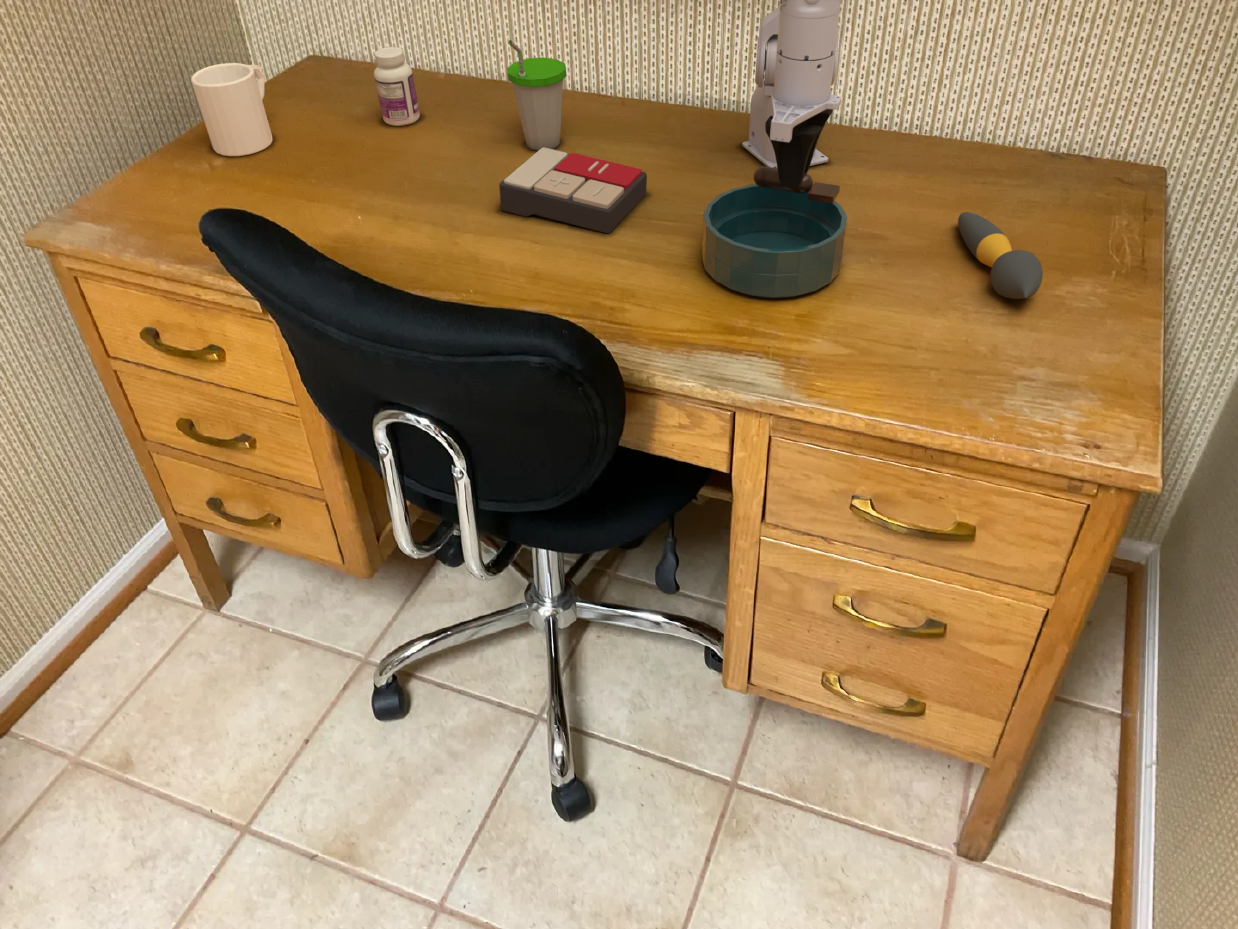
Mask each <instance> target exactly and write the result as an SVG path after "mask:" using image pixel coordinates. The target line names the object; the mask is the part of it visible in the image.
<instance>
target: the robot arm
mask: <svg viewBox="0 0 1238 929" xmlns="http://www.w3.org/2000/svg"><path fill="white" fill-rule="evenodd" d="M841 4H842V0H779V5H778V6H777V7H776V8H775V9H773V10H772V11H771V12H769V13H767V15H766V16H764V17H763V18H762V20H761V23H760V24H759V27H758V28H759V29H758V37H757V44H756V59H755V74H754V75H755V76H754V83H755V85H756V87H755V89H754V91H753V93H752V95H751V99H750V112H749V126H748V140H747V141H743V142H742V145H741V146H742V147H743V148H744V149H745V150H747V151H748V152H749V153H750V154H751V155H753V157H754V158H756V159H757V160H758V161H759V162H760V163H762V164H763V166H766V167H772V168H777V169H778V176H779V181H780V184H781V185H787V186H793V187H799V185H800V183H801V181H802V178H803V175H804V173H807V174H808V173H809V169H810V167H811V166H816V165H821V164H824V163H828V162H829V157H828V156H826V155H825V153H824V154H823V152H821V151H819V150H818V149H817V144H818V141H819V139H820V136H821V134H822V132H823V130H824V127H825V126H826V123H827V122H828V120H829V119H830V117H831V115H833V111H834V110H837V109H839V108H840V106H841V104H842V96H840V95H835V94H832V91H831V89H832V86H833V85H834V84H835V82H836V76H837V70H838V69H837V68H838V59H839V58H838V57H839V35H840V34H839V33H840V27H839V21H840V12H841Z"/></svg>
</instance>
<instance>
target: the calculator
mask: <svg viewBox="0 0 1238 929" xmlns="http://www.w3.org/2000/svg"><path fill="white" fill-rule="evenodd" d="M647 180H648V173H646V172H645V171H643V169H642V168H639V167H635V166H630V165H626V164H622V163H617V162H614V161H610V160H605V159H601V158H598V157H597V158H596V157H593V156H588V155H585V154H579V153H576V152H570V153H567V152H565V151H562V150H557V149H549V148H541V149H540V150H538V151H536V152H535V153H534V154H532V155H531V156H530V157H529V158H527V159H526V160H525V161H524V162H522V163H521V165H519V166H518V167H516V169H514V170H513V171H512V172H511V173H509V174H508V176H506V177H505V178H504V179H502V181H501V182H499V183H498V184H499V196H500V197H499V198H500V209H501V211H502V212H503V211H504V212H506V213H510V214H514V215H519V216H523V217H527V218H528V217H530V216H531V215H535V216H538V217H543V218H546V219H549V220H554V221H558V222H561V223H566V224H569V225H574V226H577V227H581V228H584V229H588V230H593V231H596V232H600V233H603V234H611V233H612V232H613V230H614V229H615V228H616V227H618V225H620V223H622V221H623V220H624V219H625V218H626V217H627V216H628V215H629V213H630V212H632V210H633V209H634V208H635V207H636V206H637V205H638V204H639V203H640V202H641V201H642V200H643V198H645V196H646V195H647V185H648V184H647V182H648V181H647Z"/></svg>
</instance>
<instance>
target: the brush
mask: <svg viewBox="0 0 1238 929" xmlns="http://www.w3.org/2000/svg"><path fill="white" fill-rule="evenodd" d="M753 182H754V184H757V185H758V186H760V187H765V188H771V189H777V190H783V191H789V192H795V193H801V194H803V193H807V192H808V191H809V192H808V197H807V199H808V200H814V201H820V202H826V203H832V204H833V202H834V200H835V201H836V199H837V197H838V195H839V193H840V188H841V186H840V185H838V184H832V183H826V182H825V183H824V182H817V181H814V180H813V177H812V176H811V174H809V173H808V172H807V173H804V175H803V178H802V181H801V183H800V185H799V187H793V186H787V185H781V184H780V181H779V176H778V169H777V168H772V167H767V166H766V165H762V166H759V167H758V168H756V169H755V171H754V173H753Z"/></svg>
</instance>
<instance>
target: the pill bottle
mask: <svg viewBox="0 0 1238 929" xmlns="http://www.w3.org/2000/svg"><path fill="white" fill-rule="evenodd" d="M405 57H406V56H405V52H404V49H403V48H401V47H397V46H388V47H383V48H379V49H377V50H375V52H374V58H375V63H376V65H377V66H376V67H375V69H374V70H373V78H374V83H375V87H376V92H377V97H378V102H379V108H380V111H381V116H382V120H383V122H384V123H386V124H387V125H388V126H393V127H401V126H407V125H411V124H414V123H416V122H417V121H418V120H419V119H420V116H421V113H420V107H419V101H418V96H417V95H418V94H417V90H416V84H415V78H414V73H413V70H412V67H411V66H410V64H408V63H407V62H405V60H406V58H405Z"/></svg>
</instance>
